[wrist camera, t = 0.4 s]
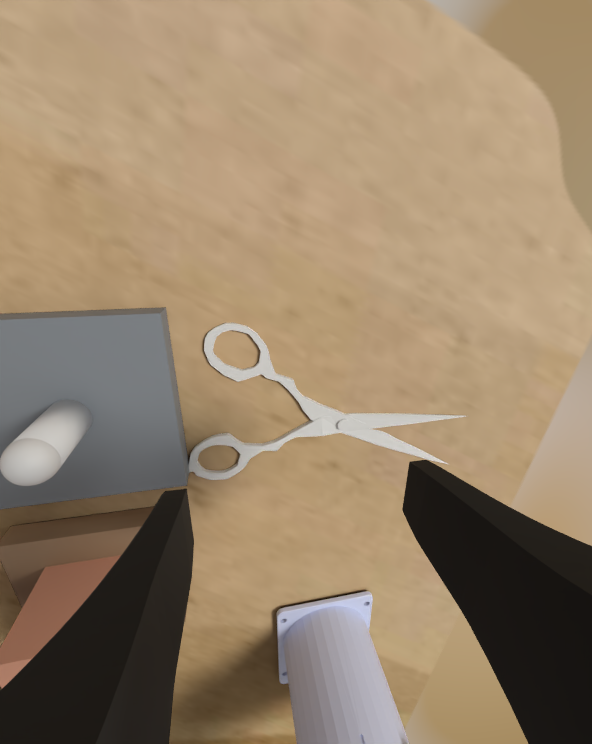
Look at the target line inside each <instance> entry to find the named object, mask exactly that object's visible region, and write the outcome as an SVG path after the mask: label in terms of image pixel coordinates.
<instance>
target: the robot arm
mask: <svg viewBox="0 0 592 744" xmlns="http://www.w3.org/2000/svg"><path fill="white" fill-rule="evenodd" d="M402 510H403V512H404V515H405V517H406V519H407V521H408V523H409V526H410V528H411V530H412V532H413V534H414V536H415V538H416V540H417V541H418V543H419V545H420V546H421V548H422V549H423V551H424V553H425V554H426V556H427V557H428V559H429V561H430V562H431V564H432V565H433V567H434V568H435V570H436V572H437V573H438V575H439V576H440V578H441V579H442V581H443V582H444V584H445V586H446V587H447V589H448V590H449V592H450V593H451V595H452V597H453V598H454V600H455V601H456V603H457V604H458V606H459V608H460V609H461V611H462V613H463V614H464V616H465V618H466V619H467V621H468V623H469V625H470V626H471V628H472V630H473V632H474V634H475V636H476V638H477V640H478V642H479V643H480V645H481V647H482V649H483V651H484V653H485V655H486V657H487V659H488V660H489V663H490V665H491V667H492V669H493V671H494V673H495V675H496V677H497V679H498V681H499V683H500V685H501V687H502V689H503V691H504V693H505V695H506V697H507V699H508V701H509V703H510V705H511V707H512V709H513V711H514V713H515V716H516V718H517V719H518V722H519V724H520V726H521V729H522V730H523V733H524V735H525V737H526V739H527V741H528V744H592V546H590V545H587V544H585V543H583V542H580V541H578V540H576V539H573V538H571V537H569V536H567V535H565V534H563V533H560V532H558V531H556V530H554V529H552V528H549V527H547V526H545V525H543V524H541V523H539V522H537V521H535V520H533V519H531V518H529V517H527V516H525V515H523V514H521V513H520V512H517V511H516V510H514V509H512V508H510V507H508V506H506V505H505V504H503V503H501V502H499V501H497V500H495V499H494V498H492V497H490V496H488V495H487V494H485V493H483V492H481V491H480V490H478V489H476V488H475V487H473V486H471V485H469V484H468V483H466V482H464V481H463V480H461V479H459V478H458V477H456V476H454V475H453V474H451V473H449V472H447V471H446V470H444V469H442V468H441V467H439V466H437V465H435V464H433V463H431V462H429V461H428V460H421V461H413V462H410V463H409V469H408V476H407V483H406V489H405V496H404V503H403V509H402ZM193 547H194V538H193V531H192V524H191V517H190V510H189V503H188V495H187V489H181V490H173V491H165V492H164V493H163V494H162V495H161V497H160V499H159V500H158V502H157V504H156V505H155V507H154V508H153V510H152V511H151V513H150V515H149V516H148V518H147V519H146V521H145V522H144V524H143V525H142V527H141V528H140V530H139V531H138V533H137V534H136V535H135V537H134V538H133V540H132V541H131V542H130V544H129V545H128V547H127V548H126V549H125V551H124V552H123V554H122V555H121V556H120V558H119V559H118V560H117V562H116V563H115V564H114V565H113V567H112V568H111V569H110V571H109V572H108V573H107V574H106V576H105V577H104V578H103V580H102V581H101V582H100V583H99V585H98V586H97V587H96V588H95V590H94V591H93V592H92V593H91V594H90V596H89V597H88V598H87V599H86V600H85V602H84V603H83V604H82V605H81V606H80V607H79V609H78V610H77V611H76V612H75V613H74V614H73V615H72V616H71V618H70V619H69V620H68V621H67V622H66V623H65V624H64V625H63V627H62V628H61V629H60V630H59V631H58V632H57V633H56V634H55V635H54V636H53V637H52V638H51V639H50V640H49V642H48V643H47V644H46V645H45V646H44V647H43V648H42V649H41V650H40V651H39V652H38V653H37V654H36V655H35V656H34V657H33V658H32V659H31V660H30V661H29V662H28V663H27V665H26V666H25V667H24V668H23V669H22V670H21V671H20V672H19V673H18V674H17V675H16V676H15V677H14V678H13V679H12V680H11V681H9V682H8V683H7V684H6V685H5V686H4V687H3V688H2V689H1V690H0V744H169V736H170V724H171V713H172V702H173V691H174V683H175V675H176V668H177V662H178V656H179V650H180V644H181V638H182V632H183V626H184V620H185V614H186V608H187V602H188V596H189V590H190V584H191V578H192V564H193ZM372 600H373V597H372V594H371V592H369V591H365V592H360V593H355V594H350V595H345V596H340V597H335V598H330V599H325V600H320V601H315V602H310V603H305V604H300V605H295V606H290V607H285V608H281V609H279V610H278V611H277V637H278V662H279V681H280V683H281V684H286V683H288V684H289V691H290V698H291V705H292V712H293V720H294V727H295V734H296V741H297V744H409V741H408V738H407V735H406V733H405V730H404V727H403V724H402V722H401V719H400V716H399V713H398V711H397V708H396V705H395V702H394V700H393V697H392V694H391V691H390V689H389V686H388V683H387V680H386V678H385V675H384V672H383V669H382V667H381V664H380V661H379V658H378V656H377V653H376V650H375V647H374V645H373V642H372V639H371V636H370V634H369V626H370V617H371V609H372Z"/></svg>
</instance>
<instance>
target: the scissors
mask: <svg viewBox="0 0 592 744" xmlns="http://www.w3.org/2000/svg"><path fill="white" fill-rule="evenodd" d="M229 330H235V331H239V332H243V333H247V334H249V335H250V336H251V338H252V339H253V340H254V341H255V343H256V344H257V345H258V347H259V349H260V357H259V362H258V363H257V364H256V365H255V366H254V367H250V368H246V369H239V368H236V367H233V366H230V365H227V364H225V363H223V362H222V361H221V360H220V359H219V358H218V357H217V356H216V355H215V354H214V352H213V347H214V342H215V339H216V337H217V336H218V335H219V334H221V333H222V332H225V331H229ZM204 352H205V354H206V356H207V358H208V361H209V363H210V365H212V366H213V367H214V368H215V369H217V370H218V371H219V372H220V373H222V374H223V375H224V376H227V377H229V378H231V379H233V380H235V381H238V382H239V381H242V380H245V379H248V378H251V377H254V376H258V375H261V374H262V375H263V376H264V377H265V378H268V379H271V380H275V381H278V382H280V383H281V384H282V385H283V386H284V387H286V388H287V389H288V390H289V392H290V393H291V394H292V395H293V396H294V397H295V398H296V400H297V401H298V402H299V404H300V406H301V407H302V409H303V411H304V412H305V413H306V414H307V416H308V417H309V418H310V419H311V420H310V421H308V422H306V423H304V424H302V425H300V426H299V427H297V428H295V429H293V430H291V431H290V432H288V433H286V434H284V435H283V436H281V437H279V438H277V439H275V440H272V441H269V442H265V443H262V444H261V443H243V442H242V441H240V440H238V439H236V438H235V437H234V436H232V435H231V434H230V433H222V434H216V435H212V436H210V437H208V438H206V439H204V440H202V441H201V442H200V443H198V444H197V445H196V446H195V447H194V448H193V450H192V452H191V455H190V460H189V464H188V466H189V473H190V472H194V473H195V474H196V476H199V477H202V478H206V479H209V480H220V479H228V478H230V477H232V476H234V475H235V474H237V473H239V472H240V471H241V470H242V469H243V468H244V467H245V466H246V464H247V463H248V461H249V460H250V458H252V457H254V456H255V455H257V454H258V453H260V452H262V451H277V450H278V449H279V448H280V447H281V446H282V445H283V444H284V443H286V442H287V441H289V440H291V439H293V438H295V437H311V436H324V435H330V434H335V433H344V434H347V435H350V436H353V437H355V438H358V439H361V440H364V441H367V442H370V443H373V444H376V445H379V446H383V447H386V448H389V449H392V450H396V451H400V452H404V453H407V454H411V455H414V456H418V457H421V458H424V459H428V460H431V461H436V462H441V463H445V464H448V463H446V462H444V461H442V460H440V459H438V458H436V457H434V456H432V455H430V454H428V453H426V452H424V451H422V450H420V449H418V448H416V447H414V446H412V445H410V444H407V443H405V442H403V441H401V440H399V439H397V438H395V437H393V436H391V435H389V434H387V433H385V432H382V431H378V430H372V428H381V427H389V426H398V425H406V424H414V423H421V422H429V421H436V420H443V419H451V418H458V417H465V416H458V415H434V414H407V413H343V412H341V411H339V410H336V409H333V408H331V407H328V406H326V405H323V404H320V403H318V402H316V401H314V400H312V399H310V398H308V397H306V396H304V395H302V394H301V393H300V392H299V391H298V390H297V388H296V386H295V383H294V380H293V379H292V378H289V377H286V376H283V375H280V374H277V373H275V371H274V368H273V366H272V363H271V360H270V356H269V351H268V348H267V346H266V344H265V343H264V341H263V340H262V339H261V337H260V336H259V335H258V334H257V332H255V331H254V330H252V329H251V328H249V327H248V326H246V325H242V324H237V323H223V324H221V325H219V326H216V327H215V328H213V329H212V330H210V331H209V332H208V334H207V336H206V337H205V343H204ZM213 445H227V446H232V447H234V448H235V449H236V450H237V451H238V452H239V453H240V456H239V459H238V463H236V464H235V465H233V466H232V467H230V468H228V469H226V470H221V471H219V470H208V469H204V468H203V467H202V466H201V465H200V464H199V462H198V460H197V459H198V456H199V453H200V452H201V451H202V450H203V449H205V448H207V447H209V446H213Z"/></svg>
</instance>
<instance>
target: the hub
mask: <svg viewBox="0 0 592 744" xmlns="http://www.w3.org/2000/svg"><path fill="white" fill-rule="evenodd" d="M188 464H189V462H188V455H187V448H186V442H185V435H184V428H183V421H182V414H181V408H180V401H179V394H178V387H177V380H176V374H175V367H174V360H173V353H172V347H171V340H170V333H169V326H168V319H167V313H166V307H165V308H140V309H114V310H88V311H62V312H36V313H10V314H0V509H7V508H15V507H22V506H30V505H38V504H46V503H54V502H62V501H69V500H77V499H85V498H93V497H101V496H108V495H116V494H124V493H132V492H140V491H147V490H155V489H163V488H171V487H179V486H187V482H188V476H189V466H188Z"/></svg>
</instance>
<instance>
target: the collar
mask: <svg viewBox="0 0 592 744" xmlns="http://www.w3.org/2000/svg"><path fill="white" fill-rule="evenodd" d="M120 556H121V555H119V556H112V557H106V558H100V559H93V560H87V561H81V562H74V563H68V564H62V565H55V566H49V567H45V568H44V570H43V572H42V574H41V575H40V577H39V579H38V581H37V583H36V584H35V586H34V588H33V590H32V592H31V593H30V595H29V597H28V599H27V601H26V602H25V604H24V606H23V608H22V610H21V611H20V613H19V615H18V617H17V619H16V620H15V622H14V624H13V626H12V628H11V629H10V631H9V633H8V635H7V637H6V638H5V640H4V642H3V644H2V646H1V647H0V686H1V688H3V687H4V686H5V685H6V684H7V683H8V682H9V681H11V680H12V679H13V678H14V677H15V676H16V675H17V674H18V673H19V672H20V671H21V670H22V669H23V668H24V667H25V666H26V665H27V663H28V662H29V661H30V660H31V659H32V658H33V657H34V656H35V655H36V654H37V653H38V652H39V651H40V650H41V649H42V648H43V647H44V646H45V645H46V644H47V643H48V642H49V640H50V639H51V638H52V637H53V636H54V635H55V634H56V633H57V632H58V631H59V630H60V629H61V628H62V627H63V625H64V624H65V623H66V622H67V621H68V620H69V619H70V618H71V616H72V615H73V614H74V613H75V612H76V611H77V610H78V609H79V607H80V606H81V605H82V604H83V603H84V602H85V600H86V599H87V598H88V597H89V596H90V594H91V593H92V592H93V591H94V590H95V588H96V587H97V586H98V585H99V583H100V582H101V581H102V580H103V578H104V577H105V576H106V574H107V573H108V572H109V571H110V569H111V568H112V567H113V565H114V564H115V563H116V562H117V560H118V559H119V558H120Z"/></svg>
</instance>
